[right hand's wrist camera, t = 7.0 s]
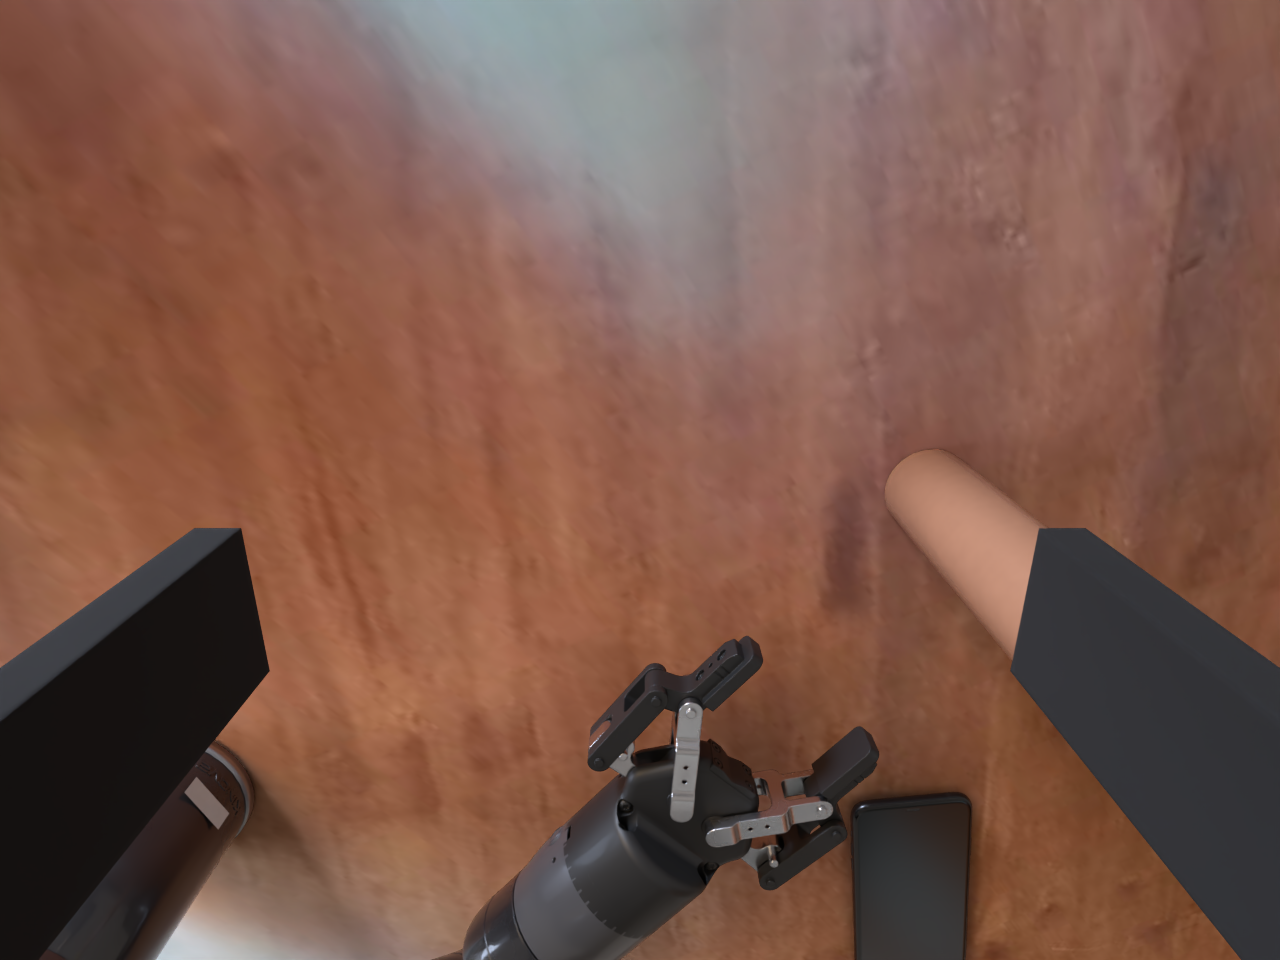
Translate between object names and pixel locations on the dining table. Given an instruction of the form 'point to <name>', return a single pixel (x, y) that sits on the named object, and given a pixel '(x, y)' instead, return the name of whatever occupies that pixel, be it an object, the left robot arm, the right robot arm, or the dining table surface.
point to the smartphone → (911, 877)
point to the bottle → (967, 536)
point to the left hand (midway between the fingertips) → (814, 694)
